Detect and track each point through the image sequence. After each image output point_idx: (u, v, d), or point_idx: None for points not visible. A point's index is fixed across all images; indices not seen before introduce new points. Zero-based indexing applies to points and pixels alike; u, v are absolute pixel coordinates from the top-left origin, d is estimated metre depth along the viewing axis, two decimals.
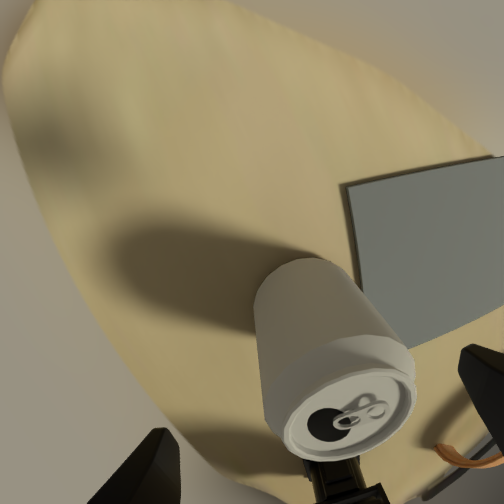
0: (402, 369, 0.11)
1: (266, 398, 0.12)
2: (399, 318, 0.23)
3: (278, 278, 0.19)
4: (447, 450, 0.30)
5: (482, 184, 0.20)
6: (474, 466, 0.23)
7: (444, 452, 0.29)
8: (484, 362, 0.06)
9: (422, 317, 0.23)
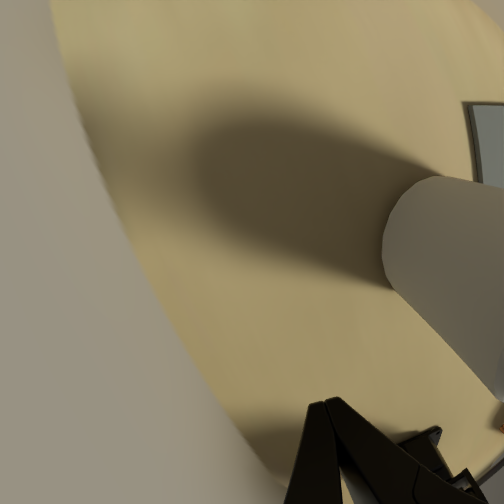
0: None
1: None
2: None
3: (427, 190, 0.13)
4: None
5: None
6: None
7: None
8: (333, 424, 0.06)
9: None
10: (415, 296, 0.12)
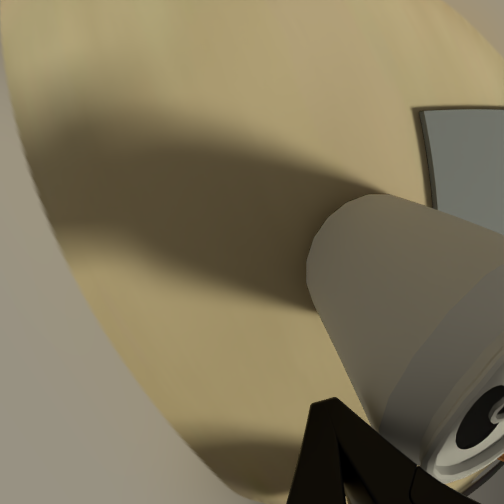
0: None
1: (399, 385, 0.06)
2: None
3: (351, 213, 0.13)
4: None
5: None
6: None
7: None
8: (331, 425, 0.06)
9: None
10: (328, 331, 0.12)
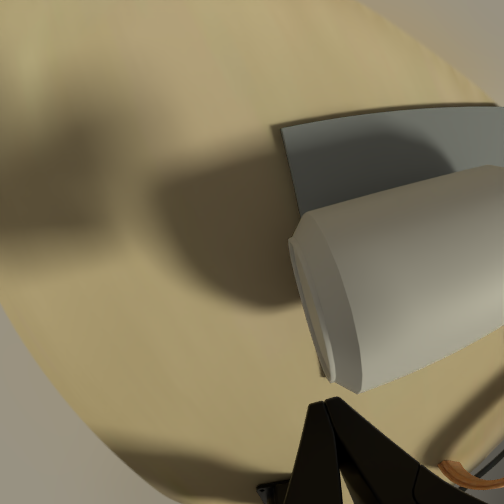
0: None
1: None
2: None
3: (360, 213, 0.10)
4: (454, 468, 0.23)
5: (485, 138, 0.13)
6: (487, 488, 0.17)
7: (450, 470, 0.22)
8: (333, 424, 0.06)
9: None
10: (454, 326, 0.08)
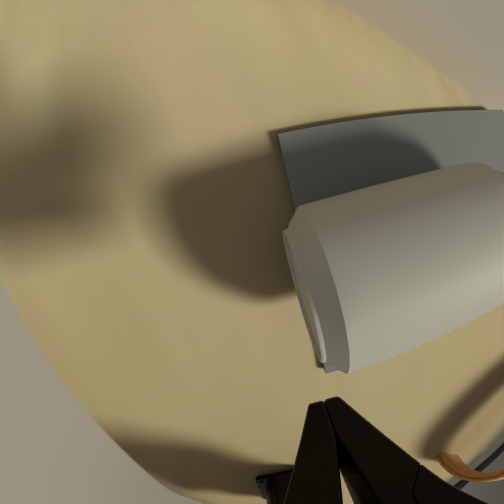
0: None
1: None
2: None
3: (344, 204, 0.11)
4: (452, 460, 0.24)
5: (472, 140, 0.15)
6: (484, 480, 0.18)
7: (449, 463, 0.24)
8: (333, 424, 0.06)
9: None
10: (435, 305, 0.09)
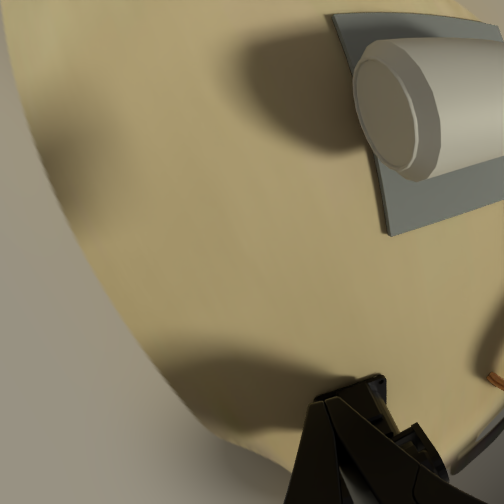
0: None
1: None
2: None
3: (405, 38, 0.11)
4: None
5: None
6: None
7: (500, 380, 0.24)
8: (333, 424, 0.06)
9: (446, 177, 0.18)
10: (488, 102, 0.09)
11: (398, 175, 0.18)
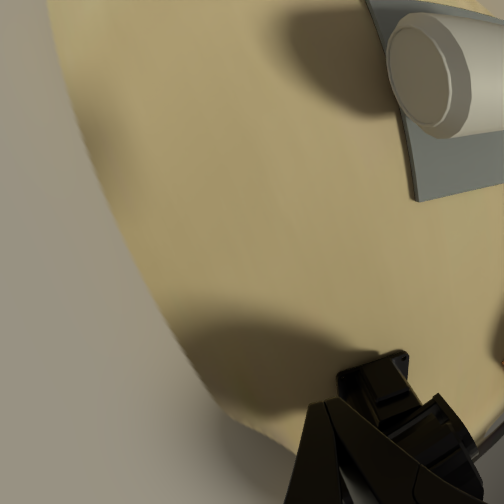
0: None
1: None
2: (444, 143, 0.17)
3: None
4: None
5: None
6: None
7: None
8: (333, 424, 0.06)
9: (467, 151, 0.18)
10: None
11: (425, 143, 0.17)
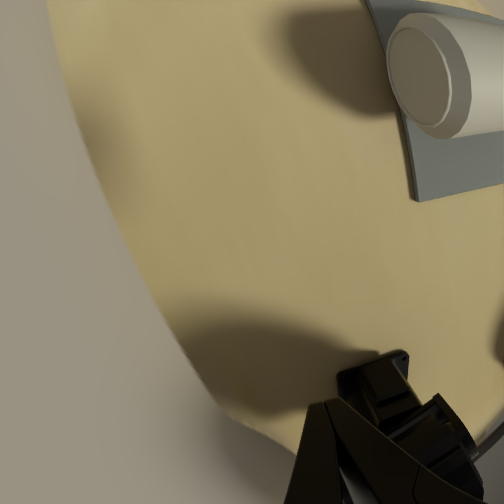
0: None
1: None
2: (444, 143, 0.17)
3: None
4: None
5: None
6: None
7: None
8: (333, 424, 0.06)
9: (467, 151, 0.18)
10: None
11: (425, 143, 0.17)
